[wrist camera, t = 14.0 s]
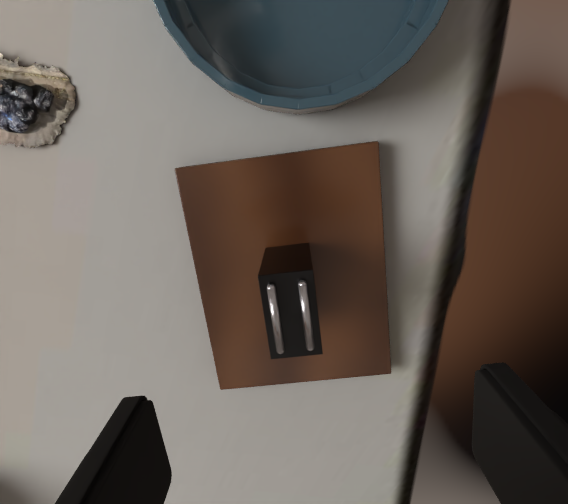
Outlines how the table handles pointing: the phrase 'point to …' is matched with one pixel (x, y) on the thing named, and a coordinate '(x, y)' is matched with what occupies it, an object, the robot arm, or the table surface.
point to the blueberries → (32, 103)
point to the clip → (290, 301)
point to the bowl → (299, 46)
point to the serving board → (286, 231)
